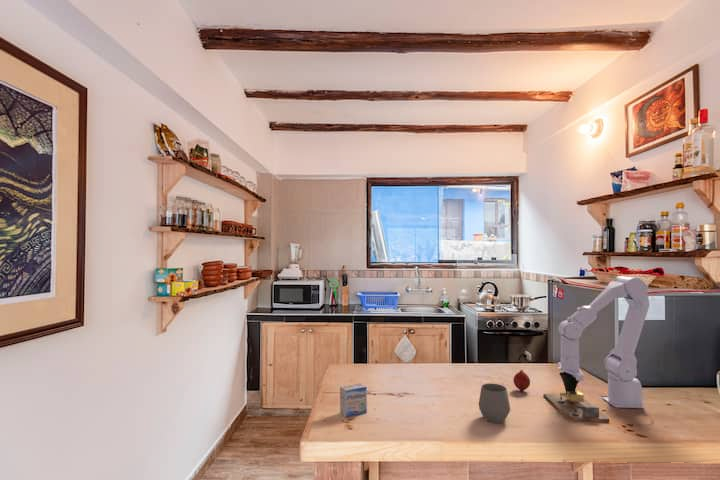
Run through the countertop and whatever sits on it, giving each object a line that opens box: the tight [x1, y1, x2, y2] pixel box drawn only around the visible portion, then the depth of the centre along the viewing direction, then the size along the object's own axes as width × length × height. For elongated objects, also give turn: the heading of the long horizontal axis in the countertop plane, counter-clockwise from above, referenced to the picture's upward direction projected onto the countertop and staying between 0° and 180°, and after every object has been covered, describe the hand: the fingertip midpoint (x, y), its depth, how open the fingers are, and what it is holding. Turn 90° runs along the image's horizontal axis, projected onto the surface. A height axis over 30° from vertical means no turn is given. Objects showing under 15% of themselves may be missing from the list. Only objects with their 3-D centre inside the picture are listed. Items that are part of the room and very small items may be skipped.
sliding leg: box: [559, 390, 585, 402], centre depth 133 cm, size 7×3×2 cm, turn 86°
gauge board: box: [543, 393, 610, 423], centre depth 131 cm, size 12×20×4 cm, turn 176°
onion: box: [513, 369, 531, 392], centre depth 147 cm, size 6×6×8 cm
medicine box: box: [339, 383, 368, 419], centre depth 128 cm, size 8×4×9 cm, turn 118°
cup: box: [478, 382, 511, 424], centre depth 123 cm, size 10×9×10 cm
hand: (570, 394), depth 137 cm, fingers closed
